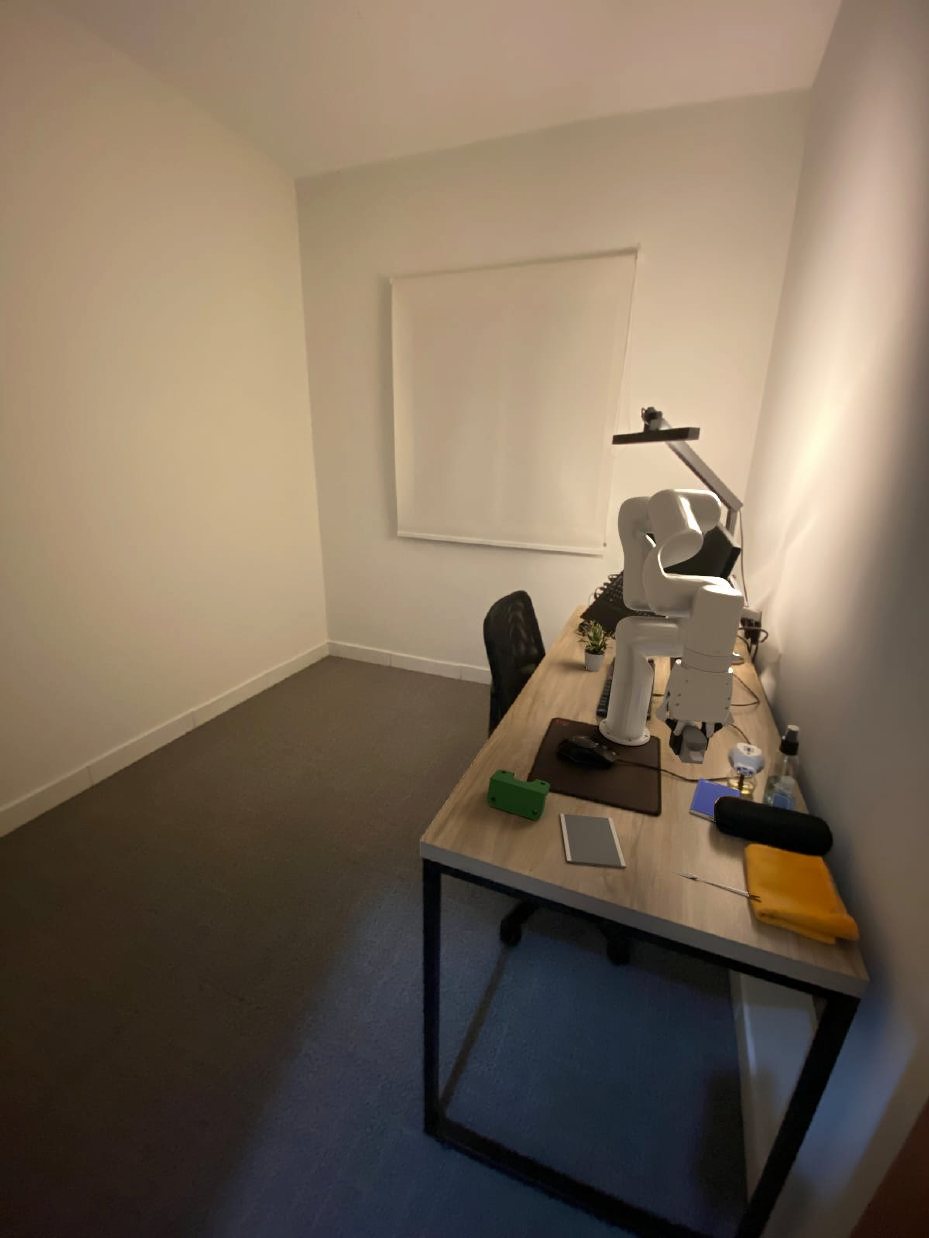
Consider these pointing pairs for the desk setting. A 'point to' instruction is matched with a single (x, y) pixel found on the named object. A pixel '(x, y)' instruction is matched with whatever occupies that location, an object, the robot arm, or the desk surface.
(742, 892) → the stylus
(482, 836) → the desk surface
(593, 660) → the house plant
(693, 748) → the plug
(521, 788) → the clamp
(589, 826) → the mat
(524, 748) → the desk surface
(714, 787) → the hard drive
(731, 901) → the desk surface
